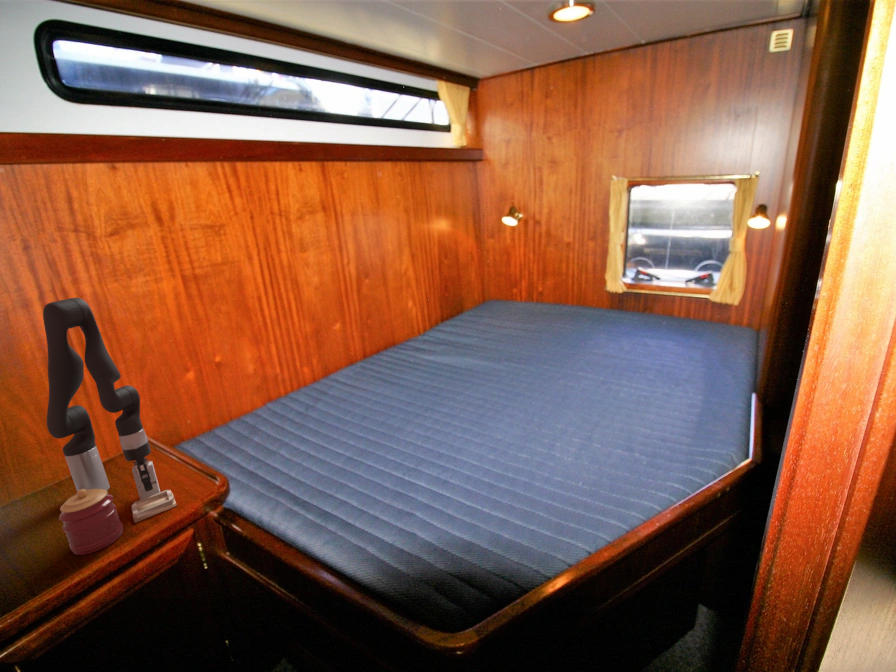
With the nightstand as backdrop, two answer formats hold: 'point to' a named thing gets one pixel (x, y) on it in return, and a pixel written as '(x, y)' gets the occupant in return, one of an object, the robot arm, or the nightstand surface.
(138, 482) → the skincare box
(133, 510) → the white shallow tray
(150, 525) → the nightstand surface
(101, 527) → the canister
